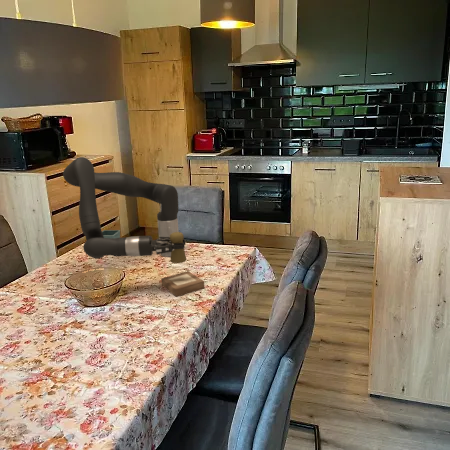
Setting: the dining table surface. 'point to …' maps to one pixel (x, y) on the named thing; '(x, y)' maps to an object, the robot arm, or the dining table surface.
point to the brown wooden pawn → (177, 254)
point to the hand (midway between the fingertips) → (184, 243)
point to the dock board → (182, 283)
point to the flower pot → (111, 233)
